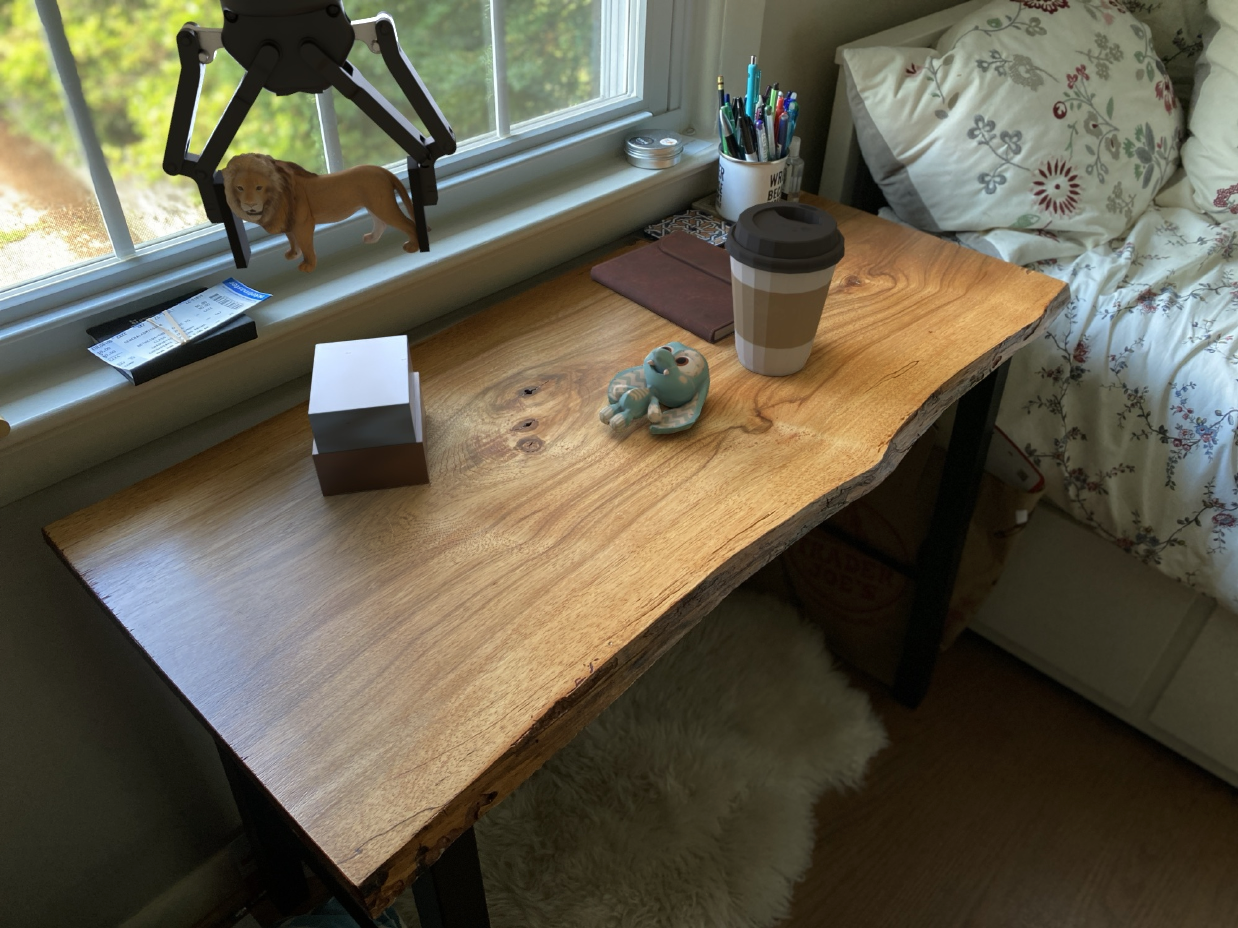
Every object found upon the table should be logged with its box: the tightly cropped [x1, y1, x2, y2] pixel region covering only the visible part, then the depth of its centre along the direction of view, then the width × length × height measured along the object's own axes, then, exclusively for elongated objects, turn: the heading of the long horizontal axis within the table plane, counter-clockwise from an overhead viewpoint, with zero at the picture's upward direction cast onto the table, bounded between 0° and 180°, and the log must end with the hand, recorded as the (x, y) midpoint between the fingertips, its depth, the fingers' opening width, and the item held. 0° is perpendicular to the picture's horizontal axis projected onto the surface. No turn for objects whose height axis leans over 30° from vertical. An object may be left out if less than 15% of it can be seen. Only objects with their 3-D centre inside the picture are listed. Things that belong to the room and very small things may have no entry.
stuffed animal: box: [598, 340, 711, 435], centre depth 87 cm, size 11×7×12 cm
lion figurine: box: [221, 152, 433, 274], centre depth 69 cm, size 15×5×9 cm, turn 123°
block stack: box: [307, 334, 430, 497], centre depth 82 cm, size 9×11×8 cm
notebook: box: [590, 229, 735, 344], centre depth 107 cm, size 15×20×2 cm
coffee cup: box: [724, 201, 846, 377], centre depth 92 cm, size 11×11×15 cm
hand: (335, 253), depth 71 cm, fingers closed on lion figurine, 13 cm apart
